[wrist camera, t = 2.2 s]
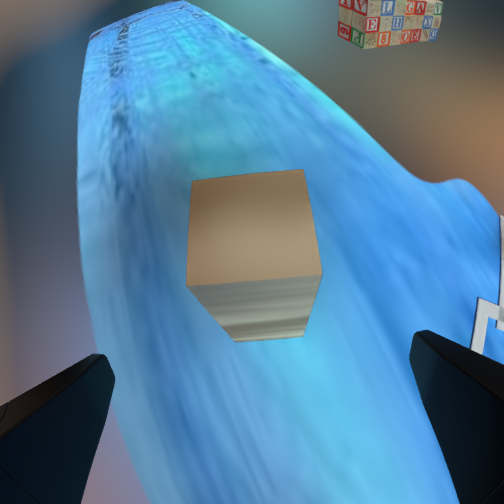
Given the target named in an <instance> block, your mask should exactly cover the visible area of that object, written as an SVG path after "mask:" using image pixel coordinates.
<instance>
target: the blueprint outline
mask: <svg viewBox="0 0 504 504" xmlns="http://www.w3.org/2000/svg"><path fill="white" fill-rule="evenodd" d="M500 229H501V279H500V296H499V306H498V305H495V304H493V303H490V302H488V301H485V300H483V299H480V298H479V299H478V305H477V313H476V320H475V327H474V333H473V338H472V344H471V350H473V351H475V352H477V353H479V354H482V352H483V347H484V341H485V335H486V329H487V321H488V317H489V318H492V319H495V320H497V326H496V329H498V330H501V331H504V217H503V216H501V215H500Z"/></svg>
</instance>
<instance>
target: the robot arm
mask: <svg viewBox="0 0 504 504" xmlns="http://www.w3.org/2000/svg"><path fill="white" fill-rule="evenodd" d="M409 360H410V364H411V368H412V371H413V374H414V377H415V380H416V383H417V386H418V390H419V393H420V396H421V400H422V403H423V405H424V408H425V410H426V413H427V415H428V418H429V420H430V422H431V425H432V427H433V430H434V432H435V435H436V437H437V440H438V443H439V445H440V448H441V450H442V453H443V456H444V459H445V461H446V464H447V467H448V470H449V472H450V475H451V478H452V481H453V484H454V487H455V490H456V493H457V497H458V500H459V503H460V504H504V365H503V364H501V363H499V362H497V361H494V360H492V359H490V358H488V357H486V356H484V355H482V354H479V353H477V352H475V351H473V350H471V349H469V348H466V347H464V346H462V345H460V344H458V343H456V342H453V341H451V340H449V339H447V338H445V337H443V336H440V335H438V334H436V333H434V332H432V331H430V330H423V331H418V332H416V333H415V334H414V336H413V340H412V345H411V350H410V355H409ZM114 384H115V375H114V372H113V370H112V368H111V366H110V363H109V361H108V359H107V357H106V356H105V355H104V354H91V355H90V356H88V357H86V358H85V359H83V360H81V361H79V362H77V363H76V364H74V365H72V366H71V367H69V368H67V369H65V370H63V371H62V372H60V373H58V374H56V375H55V376H53V377H51V378H49V379H48V380H46V381H44V382H42V383H41V384H39V385H37V386H36V387H34V388H32V389H30V390H28V391H27V392H25V393H23V394H21V395H19V396H18V397H16V398H14V399H13V400H11V401H9V402H7V403H5V404H3V405H2V406H0V504H81V501H82V497H83V494H84V490H85V486H86V483H87V479H88V476H89V473H90V469H91V466H92V463H93V459H94V456H95V453H96V450H97V447H98V444H99V440H100V437H101V434H102V431H103V428H104V425H105V422H106V418H107V414H108V410H109V405H110V401H111V397H112V393H113V389H114Z"/></svg>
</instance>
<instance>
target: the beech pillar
mask: <svg viewBox="0 0 504 504" xmlns="http://www.w3.org/2000/svg"><path fill="white" fill-rule="evenodd" d="M321 278H322V268H321V262H320V256H319V250H318V244H317V238H316V232H315V227H314V221H313V216H312V210H311V205H310V200H309V195H308V190H307V185H306V180H305V175H304V170H303V169H299V170H286V171H275V172H264V173H254V174H244V175H235V176H227V177H219V178H211V179H203V180H196V181H192V187H191V200H190V215H189V232H188V252H187V278H186V286H187V288H188V289H189V290H190V291H191V292H192V294H193V295H194V296H195V297H196V298H197V299H198V301H199V302H200V303H201V304H202V305H203V306H204V308H205V309H206V310H207V311H208V312H209V313H210V314H211V316H212V317H213V318H214V319H215V320H216V321H217V322H218V324H219V325H220V326H221V327H222V328H223V329H224V330H225V331H226V332H227V334H228V335H229V336H230V337H231V338H232V339H233V340H234V341H235V342H246V341H261V340H273V339H285V338H295V337H303V335H304V332H305V329H306V326H307V323H308V320H309V316H310V313H311V310H312V307H313V304H314V301H315V297H316V294H317V291H318V288H319V284H320V281H321Z"/></svg>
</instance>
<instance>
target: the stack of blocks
mask: <svg viewBox="0 0 504 504" xmlns="http://www.w3.org/2000/svg"><path fill="white" fill-rule="evenodd" d="M442 8H443V3H442V2H440V1H438V0H339V22H338V36H340V37H342V38H344V39H345V40H347V41H349V42H351V43H353V44H355V45H357V46H359V47H360V48H362V49H368V48H375V47H383V46H388V45H397V44H402V43H409V42H418V41H419V42H421V41H435V40H436V39H437V34H438V30H439V26H440V21H441V13H442Z"/></svg>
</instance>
